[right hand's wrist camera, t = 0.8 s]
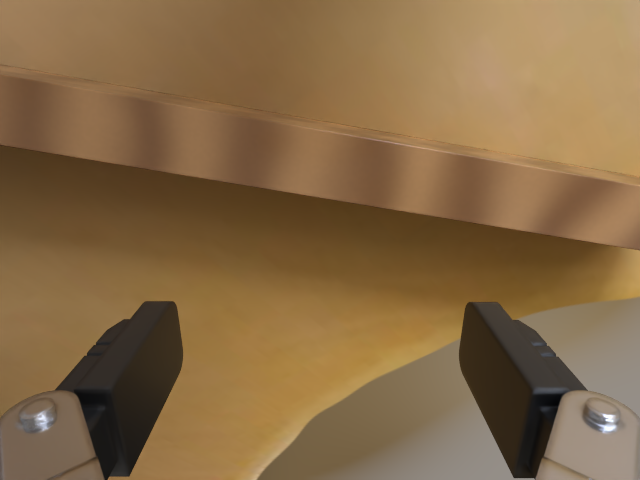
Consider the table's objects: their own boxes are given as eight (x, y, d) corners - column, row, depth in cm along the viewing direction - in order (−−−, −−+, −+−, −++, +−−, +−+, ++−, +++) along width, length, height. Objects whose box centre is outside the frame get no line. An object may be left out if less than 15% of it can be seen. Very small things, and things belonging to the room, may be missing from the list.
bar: (653, 179, 36) (736, 202, 29) (631, 227, 37) (705, 261, 30) (-168, 35, 32) (-309, 20, 24) (-154, 95, 33) (-284, 98, 26)
